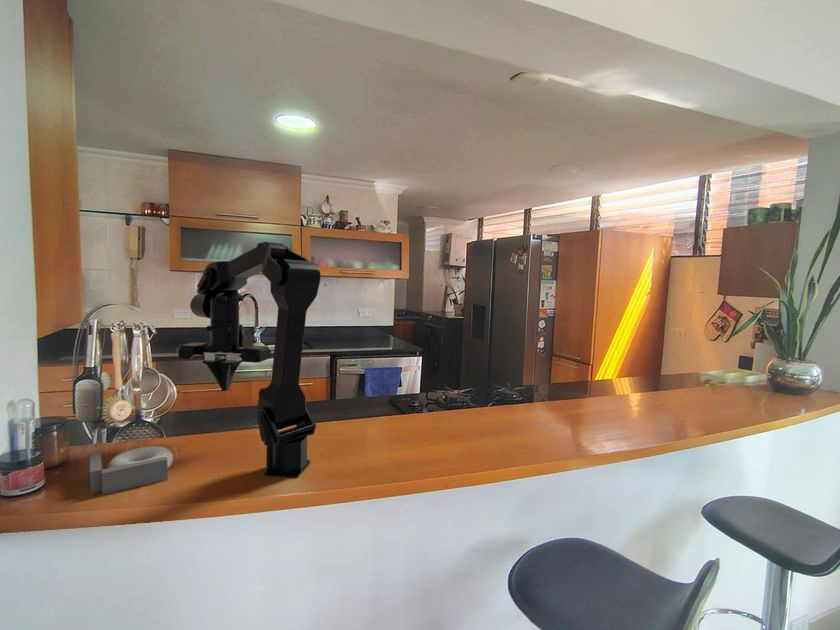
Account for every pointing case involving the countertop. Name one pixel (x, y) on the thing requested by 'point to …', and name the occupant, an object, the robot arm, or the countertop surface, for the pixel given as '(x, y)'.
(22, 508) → the countertop surface
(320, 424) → the countertop surface
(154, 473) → the grey l-shaped bracket
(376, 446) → the countertop surface
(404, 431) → the countertop surface
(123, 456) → the donut
